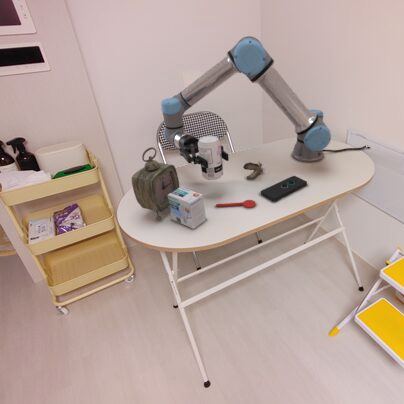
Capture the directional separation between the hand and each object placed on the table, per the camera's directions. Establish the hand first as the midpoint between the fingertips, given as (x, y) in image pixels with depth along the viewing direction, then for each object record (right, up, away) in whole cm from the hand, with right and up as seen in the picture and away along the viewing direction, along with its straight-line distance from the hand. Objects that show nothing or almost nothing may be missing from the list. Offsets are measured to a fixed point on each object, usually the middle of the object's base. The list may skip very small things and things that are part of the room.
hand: (217, 161), depth 110 cm
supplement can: (-3, -5, +8) cm, 9 cm away
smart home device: (+26, -10, +16) cm, 32 cm away
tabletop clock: (-22, -18, +4) cm, 29 cm away
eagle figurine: (+13, -3, +26) cm, 30 cm away
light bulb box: (-10, -22, -1) cm, 24 cm away
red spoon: (+6, -16, +6) cm, 18 cm away
